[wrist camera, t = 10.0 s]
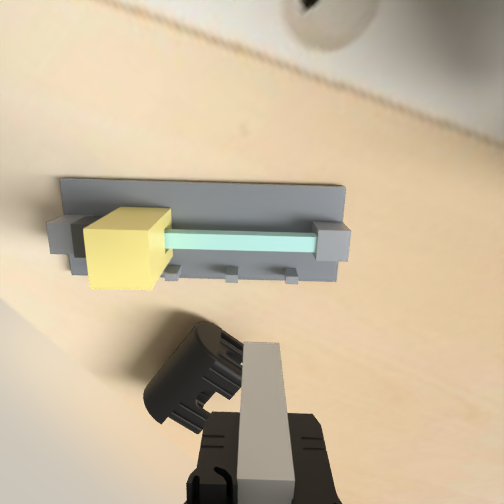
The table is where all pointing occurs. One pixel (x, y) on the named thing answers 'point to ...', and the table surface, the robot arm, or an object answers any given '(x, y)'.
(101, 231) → the sleeve
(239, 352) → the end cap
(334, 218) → the comb rail
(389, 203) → the table surface
